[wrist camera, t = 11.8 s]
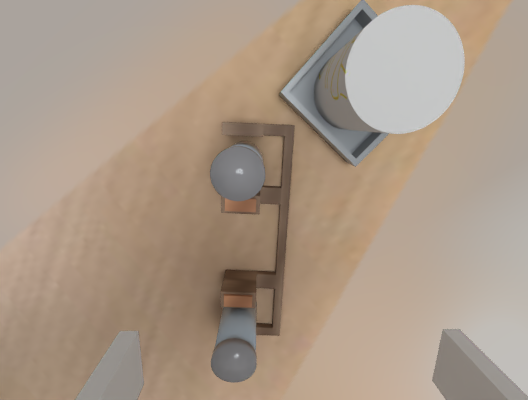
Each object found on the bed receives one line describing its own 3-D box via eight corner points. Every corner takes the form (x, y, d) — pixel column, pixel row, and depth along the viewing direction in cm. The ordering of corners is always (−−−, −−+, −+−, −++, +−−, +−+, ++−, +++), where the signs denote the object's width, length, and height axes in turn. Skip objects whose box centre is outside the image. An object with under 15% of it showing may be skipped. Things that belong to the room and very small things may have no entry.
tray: (347, 162, 34) (355, 166, 31) (278, 94, 32) (280, 91, 29) (421, 88, 32) (437, 85, 29) (352, 10, 30) (362, -2, 27)
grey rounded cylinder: (224, 178, 34) (210, 200, 24) (225, 139, 33) (210, 145, 23) (263, 180, 34) (263, 202, 25) (264, 141, 33) (266, 148, 23)
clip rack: (225, 329, 40) (219, 360, 34) (227, 122, 32) (221, 122, 27) (279, 331, 40) (281, 362, 35) (293, 125, 33) (299, 125, 27)
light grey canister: (352, 32, 30) (411, -26, 18) (403, 88, 31) (488, 68, 20) (298, 93, 31) (320, 77, 20) (349, 144, 33) (398, 157, 21)
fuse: (223, 317, 39) (211, 381, 29) (223, 288, 38) (210, 344, 28) (256, 318, 39) (255, 382, 30) (258, 289, 38) (257, 346, 28)
